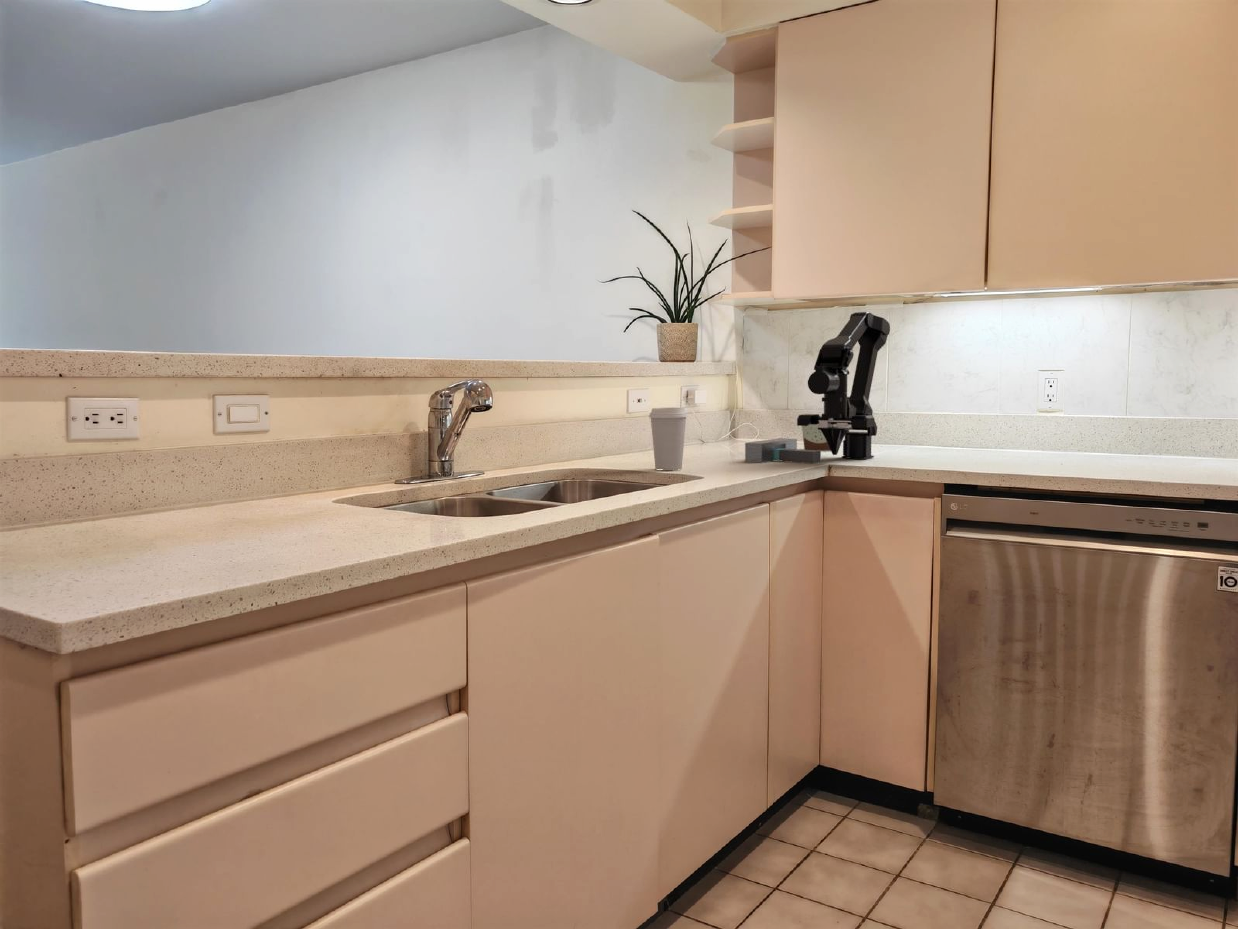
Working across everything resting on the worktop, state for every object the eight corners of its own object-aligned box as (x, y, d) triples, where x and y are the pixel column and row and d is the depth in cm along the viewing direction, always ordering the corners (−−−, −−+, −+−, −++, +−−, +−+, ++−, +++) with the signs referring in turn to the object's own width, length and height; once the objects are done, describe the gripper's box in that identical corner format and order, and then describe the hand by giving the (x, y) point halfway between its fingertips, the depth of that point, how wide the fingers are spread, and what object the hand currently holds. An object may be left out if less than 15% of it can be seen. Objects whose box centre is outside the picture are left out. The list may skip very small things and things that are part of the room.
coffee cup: (685, 471, 216) (685, 409, 215) (646, 471, 218) (645, 409, 217) (690, 467, 226) (690, 407, 224) (652, 467, 228) (652, 407, 226)
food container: (839, 449, 269) (839, 415, 268) (842, 450, 263) (842, 416, 262) (797, 449, 271) (797, 415, 270) (799, 451, 264) (799, 416, 263)
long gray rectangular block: (796, 457, 247) (796, 438, 247) (761, 462, 234) (761, 443, 233) (780, 456, 250) (780, 438, 250) (745, 461, 237) (745, 442, 236)
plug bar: (820, 462, 235) (820, 450, 234) (812, 463, 232) (812, 451, 231) (777, 459, 243) (777, 448, 243) (769, 460, 240) (769, 449, 240)
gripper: (883, 392, 229) (882, 453, 231) (814, 392, 240) (814, 450, 242) (866, 393, 220) (865, 457, 222) (796, 393, 231) (795, 454, 233)
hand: (834, 454), depth 230 cm, fingers closed
